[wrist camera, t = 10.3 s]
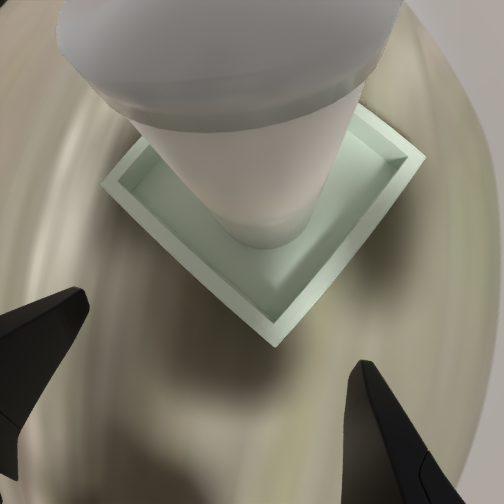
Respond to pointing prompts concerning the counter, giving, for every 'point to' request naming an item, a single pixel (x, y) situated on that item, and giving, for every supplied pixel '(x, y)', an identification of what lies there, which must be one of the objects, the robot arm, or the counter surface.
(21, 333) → the robot arm
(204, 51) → the cylinder
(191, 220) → the tray
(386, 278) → the counter surface
